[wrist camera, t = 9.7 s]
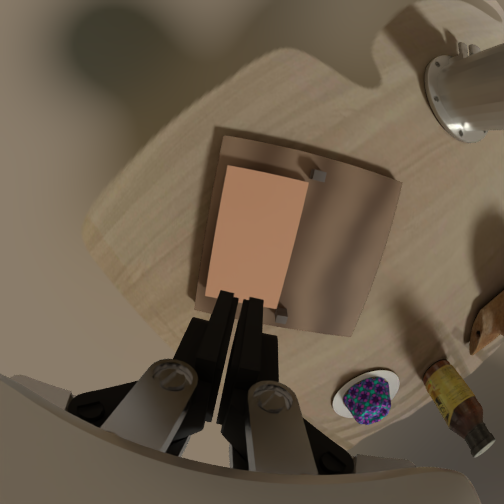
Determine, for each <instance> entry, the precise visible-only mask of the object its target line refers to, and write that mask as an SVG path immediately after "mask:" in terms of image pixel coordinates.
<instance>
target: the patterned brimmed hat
mask: <svg viewBox="0 0 504 504" xmlns="http://www.w3.org/2000/svg"><path fill="white" fill-rule="evenodd" d="M370 377H378V378H375V379H372V378H370ZM366 378H367V379H366ZM383 378H385V379H386V380H387V381H388V382H384V379H383ZM364 379H365V380H364ZM361 380H362V381H361ZM359 381H361V382H360V384H356V383H357V382H359ZM388 383H389V384H388ZM354 384H356V385H354ZM353 385H354V386H353ZM351 386H352V387H351ZM350 387H351V388H350ZM349 388H350V389H349ZM348 389H349V390H348ZM398 389H399V378H398V376H397V375H396V374H395V373H393V372H391V371H387V370H377V371H372V372H368V373H365V374H362V375H360V376H358V377H356V378H354V379H352V380H351V381H349V382H348V383H347V384H345V385H344V386H343V387H342V388H341V389H340V390H339V391H338V392H337V394H336V395H335V397H334V400H333V409H334V411H335V412H336V413H337V414H338V415H341V416H343V417H349V418H355V420H356V421H357V422H358V423H359V424H365V425H369V424H372V423H374V422H378V421H380V420H381V419H382V418H383V417H385V416H386V415H387V414H388V413H389V410H390V407H391V400H392V399H393V397H394V396H395V395H396V393H397V391H398ZM347 390H348V394H346V395H345V396H344V394H345V393H346V391H347ZM343 396H344V398H343ZM343 400H344V402H345V404H346V405H345V406H346V407H347V408H346V407H345V406H344V404H343Z"/></svg>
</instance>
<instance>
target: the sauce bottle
mask: <svg viewBox="0 0 504 504" xmlns="http://www.w3.org/2000/svg"><path fill="white" fill-rule="evenodd" d="M423 382H424V384H425V386H426V389H427V391H428V393H429V394H430V396H431V398H432V399H433V401H434V403H435V404H436V406H437V408H438V409H439V411H440V413H441V415H442V416H443V418H444V420H445V421H446V423H447V425H448V427H449V428H450V429H451V430H452V431H454V432H455V433H457V434H458V435H459V436H461V437H462V438H464V439H465V441H466V442H467V444H468V445H469V448H470V449H471V454H472V455H473V457H474V458H475V457H477V456H479V455H480V454H482V453H483V452H485V451H486V450H487V449H488V448H489V447H490V446H491V445H492V444H493V443H494V442H495V438H494V437H493V435H492V434H491V433H490V432H489V431H488V429H487V428H486V426H485V424H484V423H483V409H482V406H481V405H480V403H479V402H478V401H477V399H476V397H475V395H474V394H473V392H472V391H471V390H470V388H469V387H468V385H467V384H466V383H465V381H464V380H463V379H462V377H461V376H460V375H459V374H458V372H457V371H456V370H455V368H454V367H453V366H452V365H450V363H449V362H448V361H446V360H441V361H438V362H437V363H435V364H434V365H432V366H431V367H430V368H429V369H428V370H427V372H426V373H425V375H424V378H423Z"/></svg>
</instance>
